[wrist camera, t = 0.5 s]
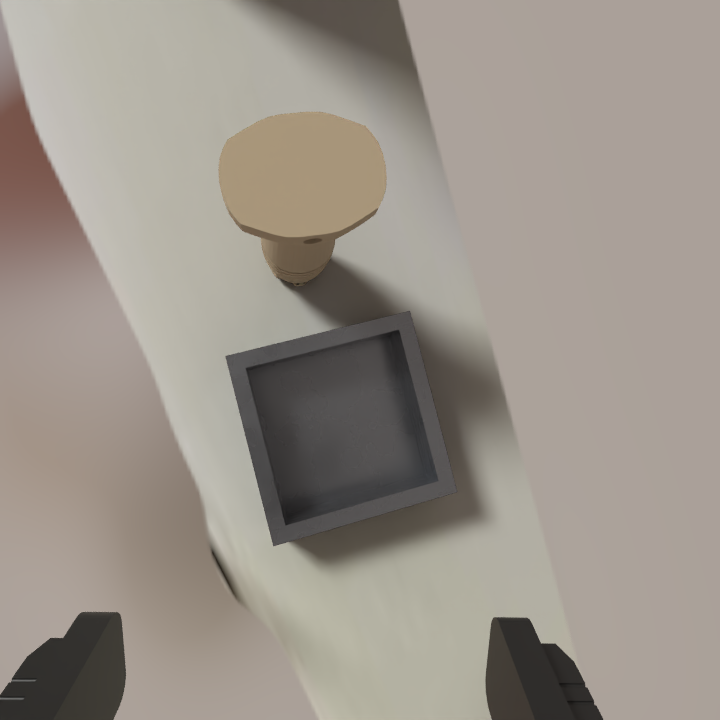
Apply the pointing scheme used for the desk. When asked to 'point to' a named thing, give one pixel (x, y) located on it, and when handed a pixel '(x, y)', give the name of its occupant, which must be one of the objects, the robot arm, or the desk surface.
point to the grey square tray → (340, 426)
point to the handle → (301, 186)
